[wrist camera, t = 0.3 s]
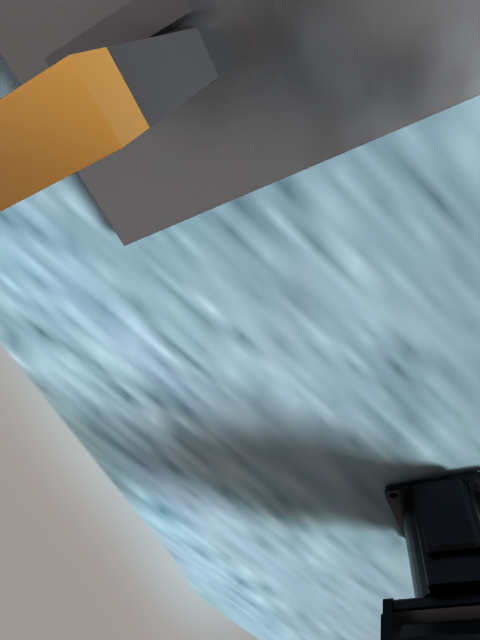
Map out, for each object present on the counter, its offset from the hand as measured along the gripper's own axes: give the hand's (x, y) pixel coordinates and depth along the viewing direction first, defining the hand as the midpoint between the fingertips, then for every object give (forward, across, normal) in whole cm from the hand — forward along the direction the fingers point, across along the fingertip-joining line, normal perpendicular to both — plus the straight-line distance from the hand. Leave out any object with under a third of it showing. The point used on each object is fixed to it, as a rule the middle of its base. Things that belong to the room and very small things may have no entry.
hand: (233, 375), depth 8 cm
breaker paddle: (+12, +5, -3) cm, 13 cm away
